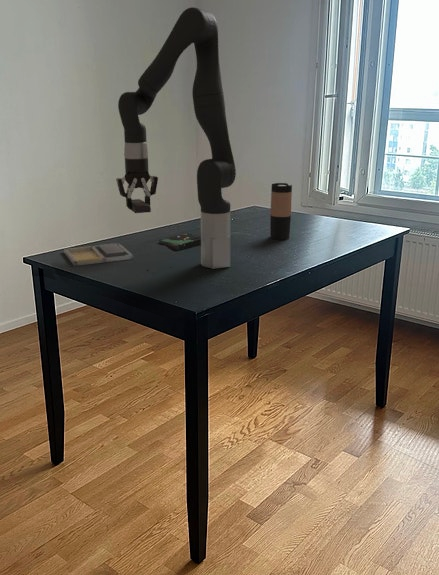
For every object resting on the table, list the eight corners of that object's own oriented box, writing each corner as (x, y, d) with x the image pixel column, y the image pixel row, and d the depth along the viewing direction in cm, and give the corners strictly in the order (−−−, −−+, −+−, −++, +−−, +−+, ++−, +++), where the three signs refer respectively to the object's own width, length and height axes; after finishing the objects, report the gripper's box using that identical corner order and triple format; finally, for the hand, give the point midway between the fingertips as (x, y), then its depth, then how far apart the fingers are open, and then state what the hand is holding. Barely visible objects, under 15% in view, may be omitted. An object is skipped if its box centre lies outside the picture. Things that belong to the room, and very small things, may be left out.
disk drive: (187, 240, 219) (158, 247, 208) (187, 232, 218) (158, 239, 207) (207, 244, 212) (179, 252, 202) (207, 237, 212) (179, 244, 201)
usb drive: (135, 213, 189) (135, 204, 188) (126, 206, 199) (126, 198, 199) (150, 212, 191) (150, 203, 190) (141, 205, 201) (141, 197, 200)
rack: (133, 261, 188) (133, 254, 188) (74, 268, 181) (73, 261, 180) (119, 249, 203) (119, 242, 202) (64, 255, 195) (63, 248, 195)
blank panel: (125, 257, 189) (125, 251, 189) (107, 259, 187) (106, 253, 186) (115, 248, 200) (115, 243, 199) (98, 250, 197) (97, 245, 197)
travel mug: (268, 239, 217) (269, 185, 211) (271, 234, 225) (273, 182, 218) (288, 240, 216) (290, 186, 209) (291, 235, 223) (293, 183, 216)
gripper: (117, 158, 183) (120, 212, 189) (161, 156, 189) (162, 208, 194) (111, 156, 190) (114, 208, 195) (153, 154, 195) (155, 204, 201)
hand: (138, 208), depth 195 cm, fingers closed on usb drive, 5 cm apart
